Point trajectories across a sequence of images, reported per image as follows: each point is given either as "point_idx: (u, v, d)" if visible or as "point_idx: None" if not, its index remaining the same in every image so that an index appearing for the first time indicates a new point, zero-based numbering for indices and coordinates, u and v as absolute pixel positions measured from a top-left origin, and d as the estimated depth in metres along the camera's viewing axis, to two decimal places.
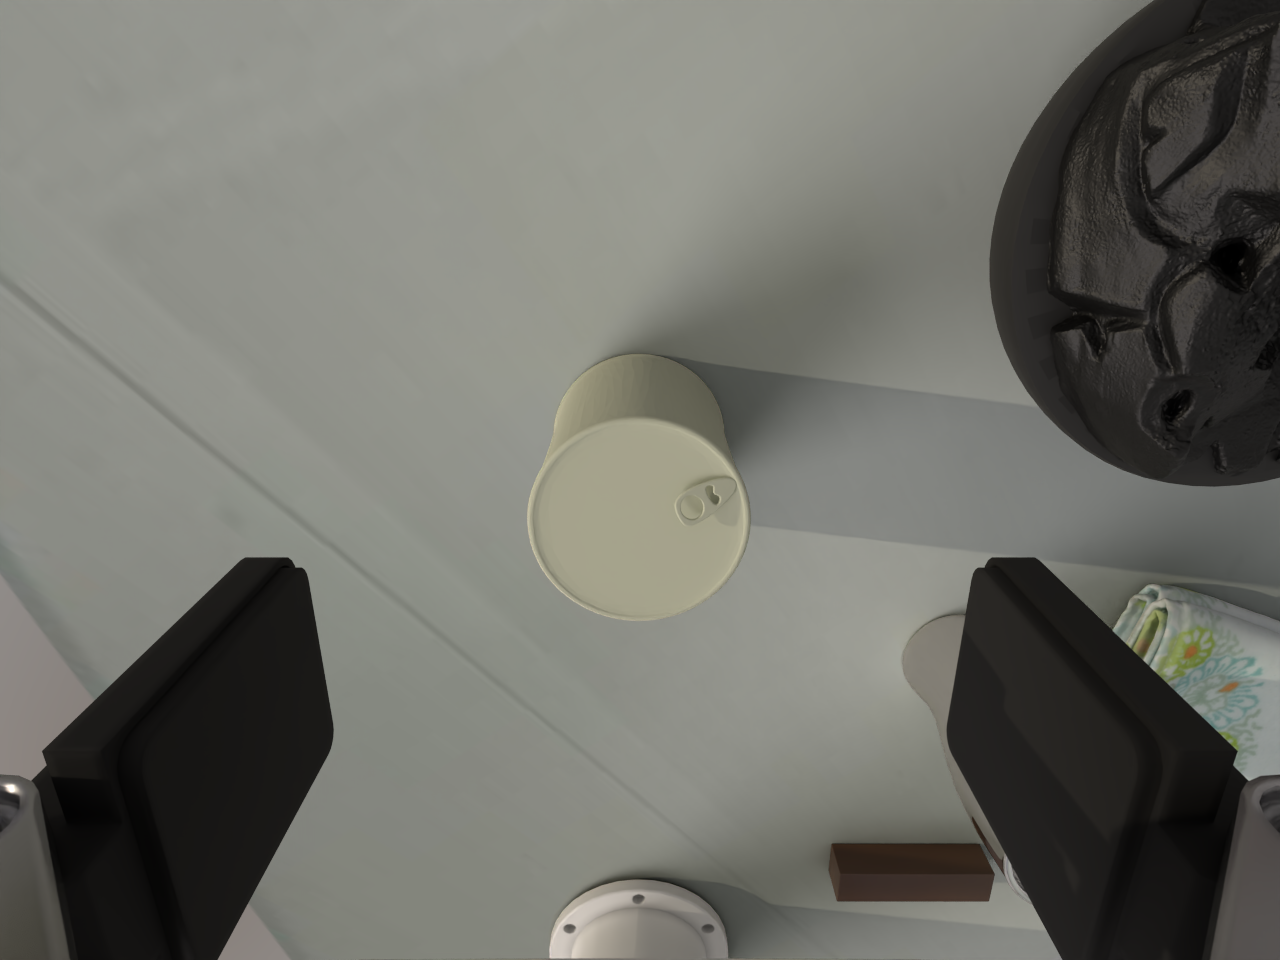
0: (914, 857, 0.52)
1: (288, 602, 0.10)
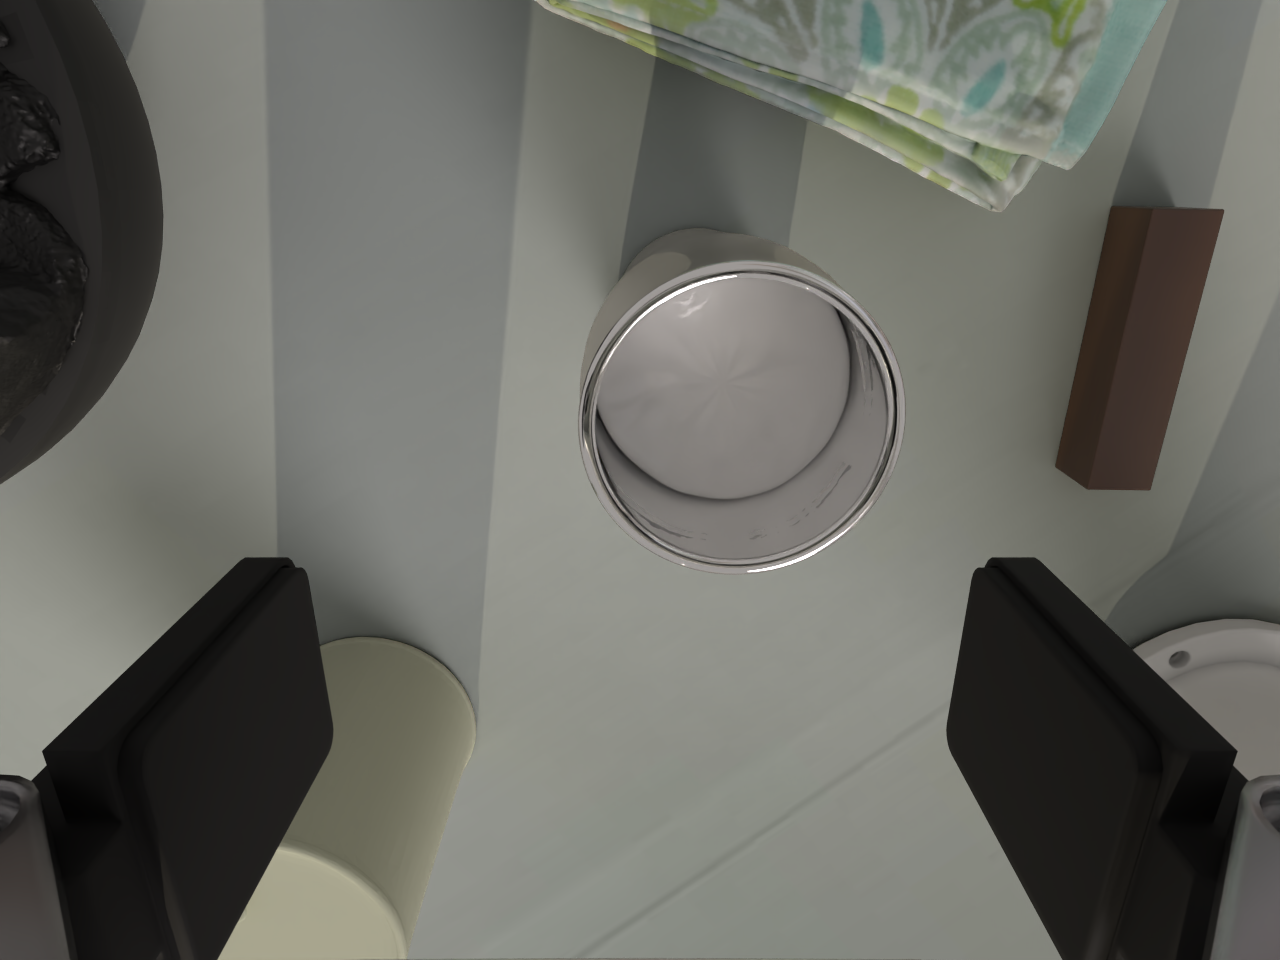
0: (1098, 344, 0.29)
1: (288, 602, 0.10)
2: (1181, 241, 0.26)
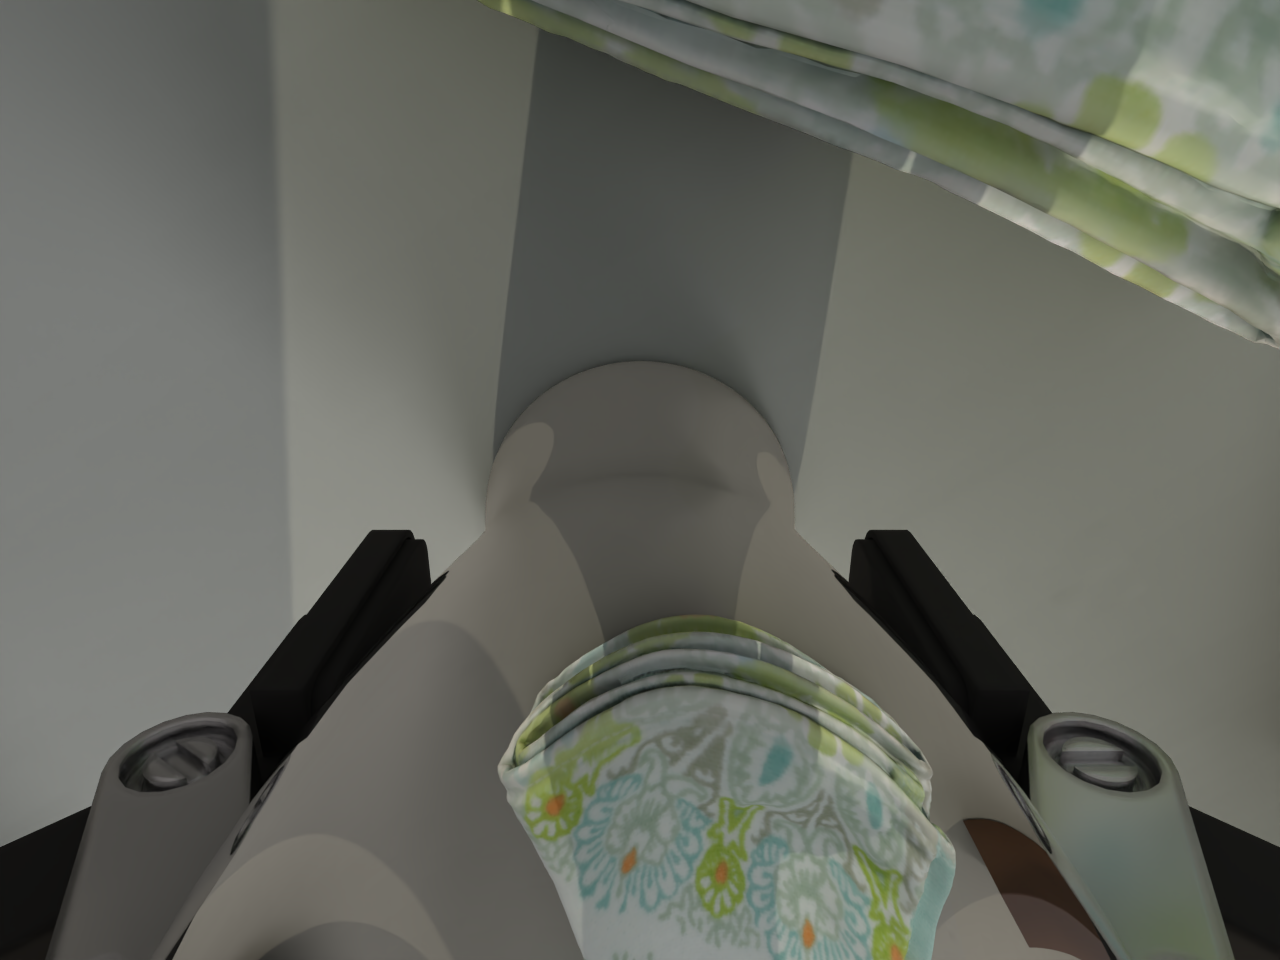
0: None
1: (416, 571, 0.11)
2: None
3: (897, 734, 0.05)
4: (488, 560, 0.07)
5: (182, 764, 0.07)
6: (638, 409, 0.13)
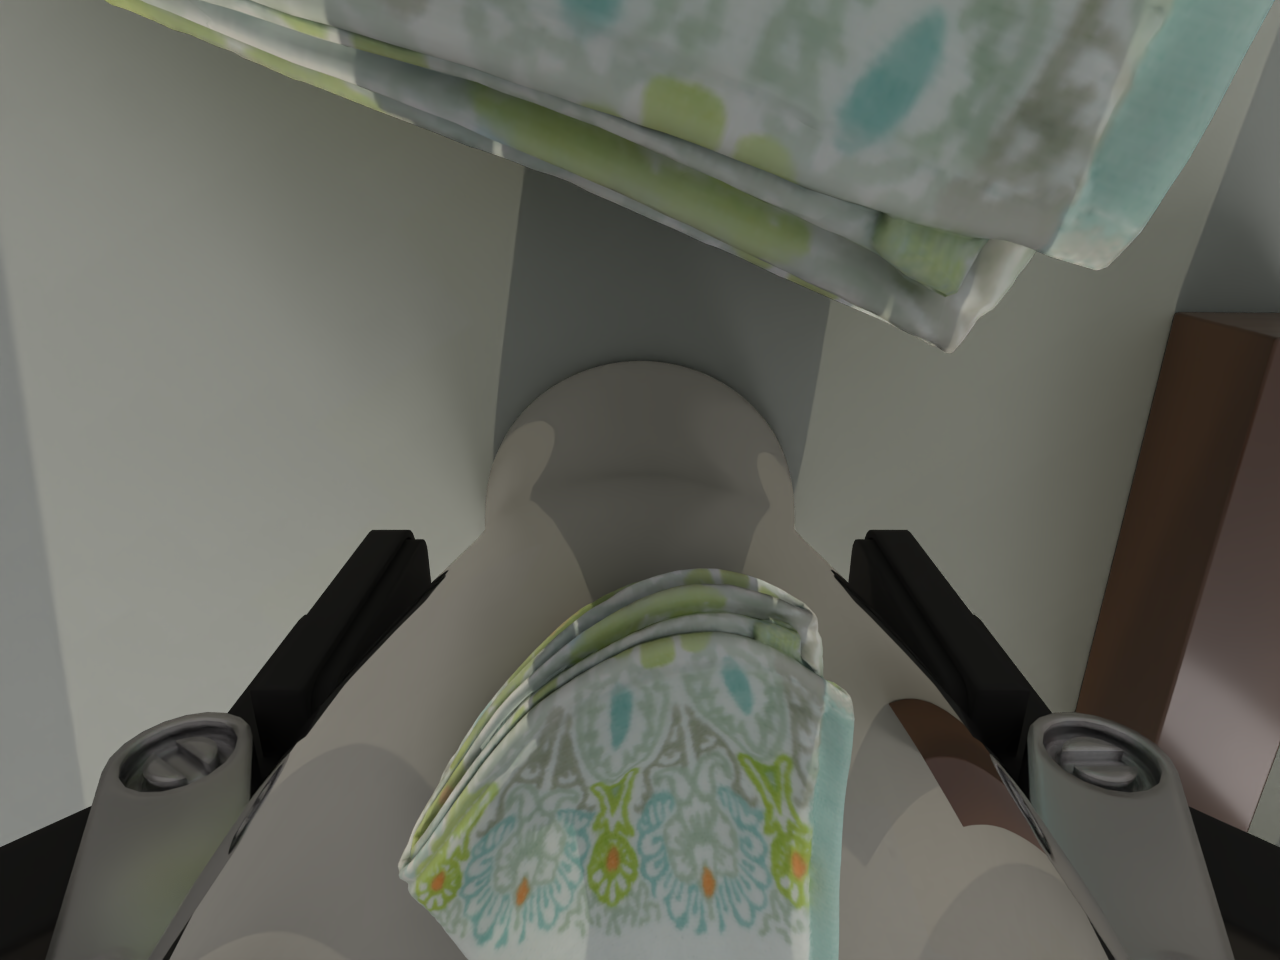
0: (1149, 572, 0.15)
1: (415, 570, 0.11)
2: None
3: (896, 734, 0.05)
4: (487, 560, 0.07)
5: (183, 764, 0.07)
6: (638, 409, 0.13)
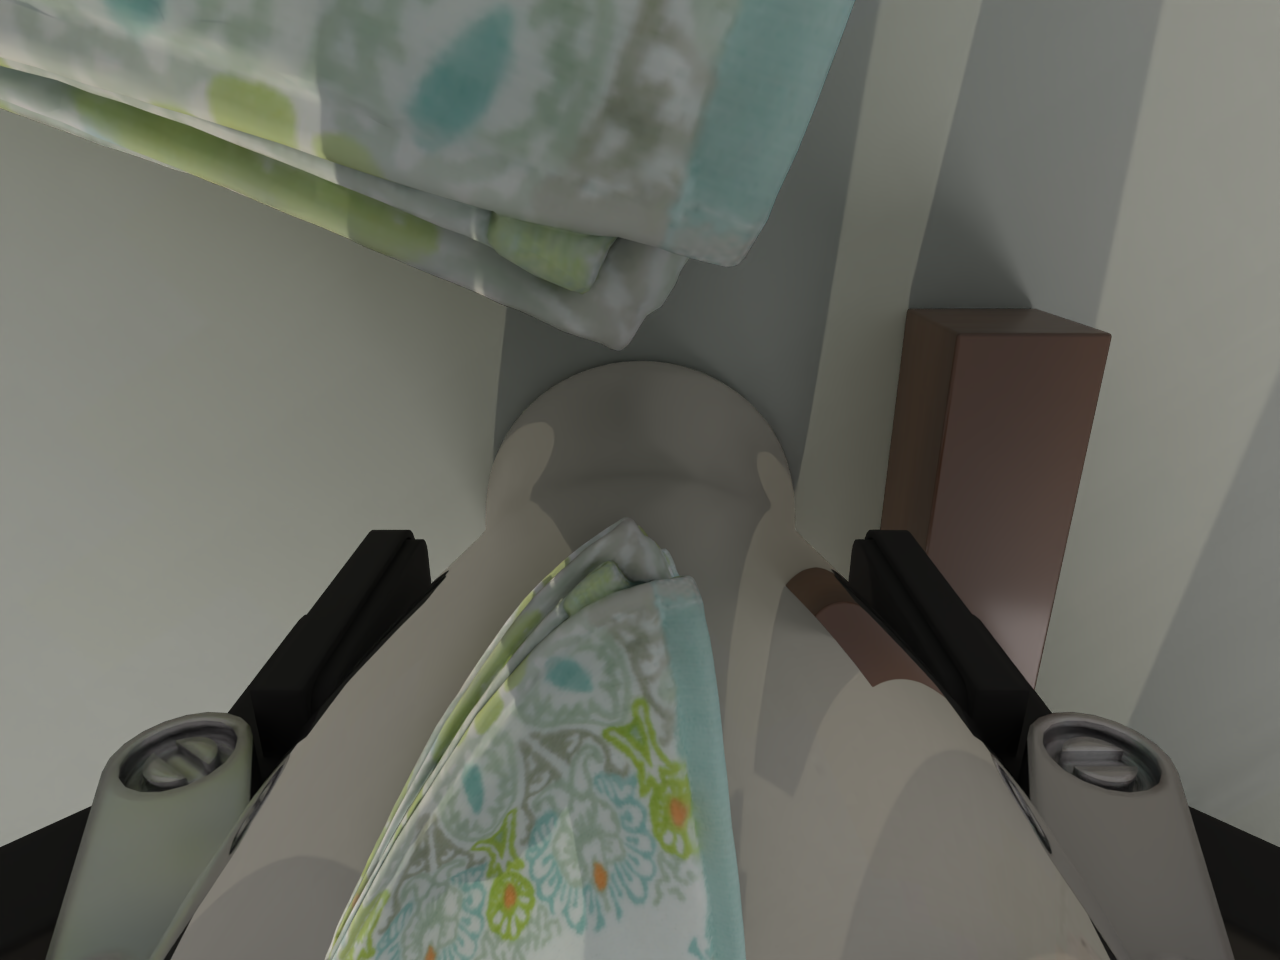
0: None
1: (416, 570, 0.11)
2: (1024, 398, 0.12)
3: (897, 735, 0.05)
4: (488, 560, 0.07)
5: (183, 764, 0.07)
6: (638, 409, 0.13)
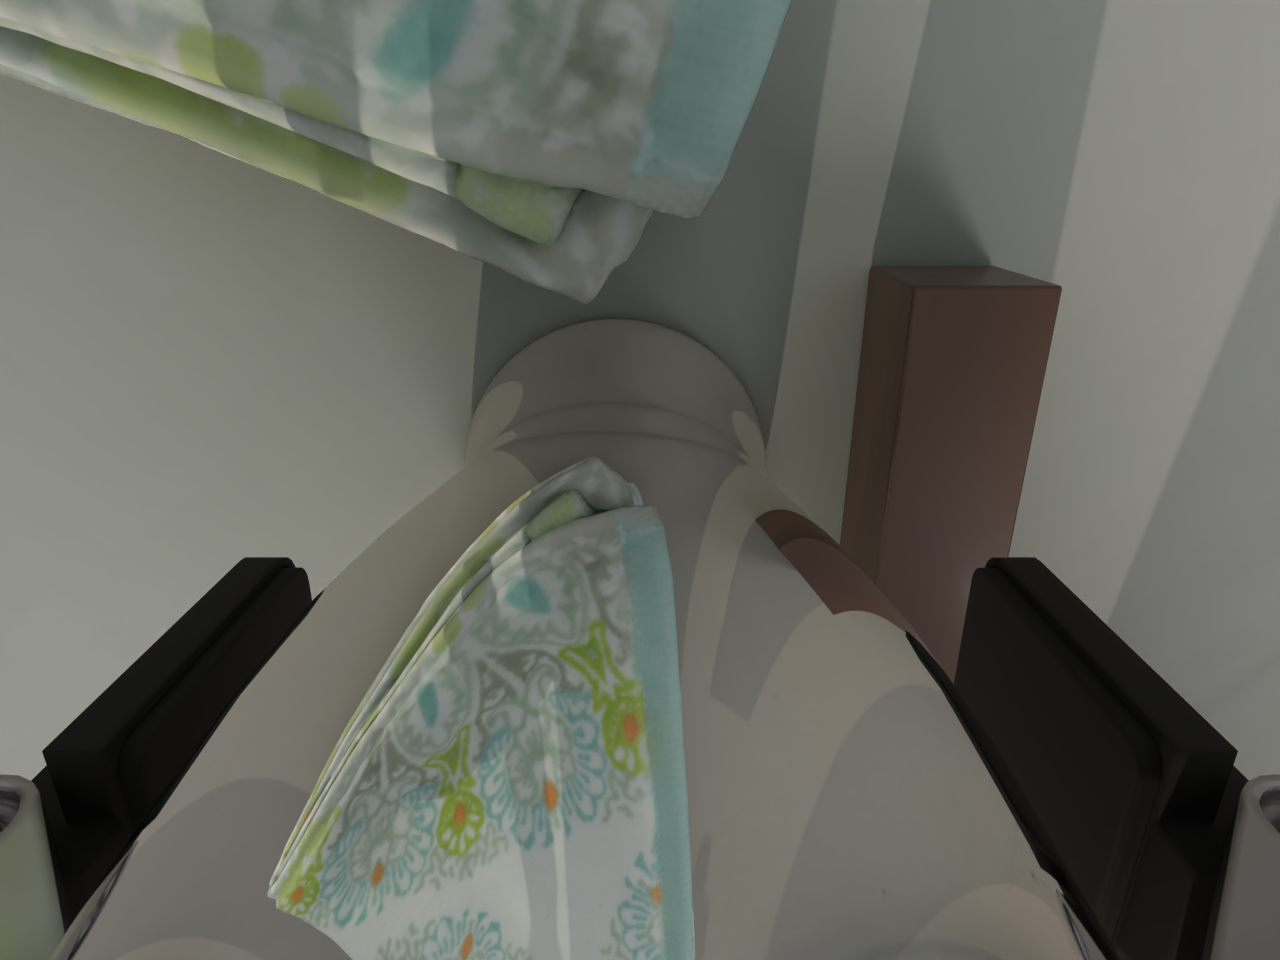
0: (859, 521, 0.16)
1: (288, 602, 0.10)
2: (979, 350, 0.13)
3: (825, 613, 0.05)
4: (458, 484, 0.08)
5: None
6: (611, 362, 0.13)
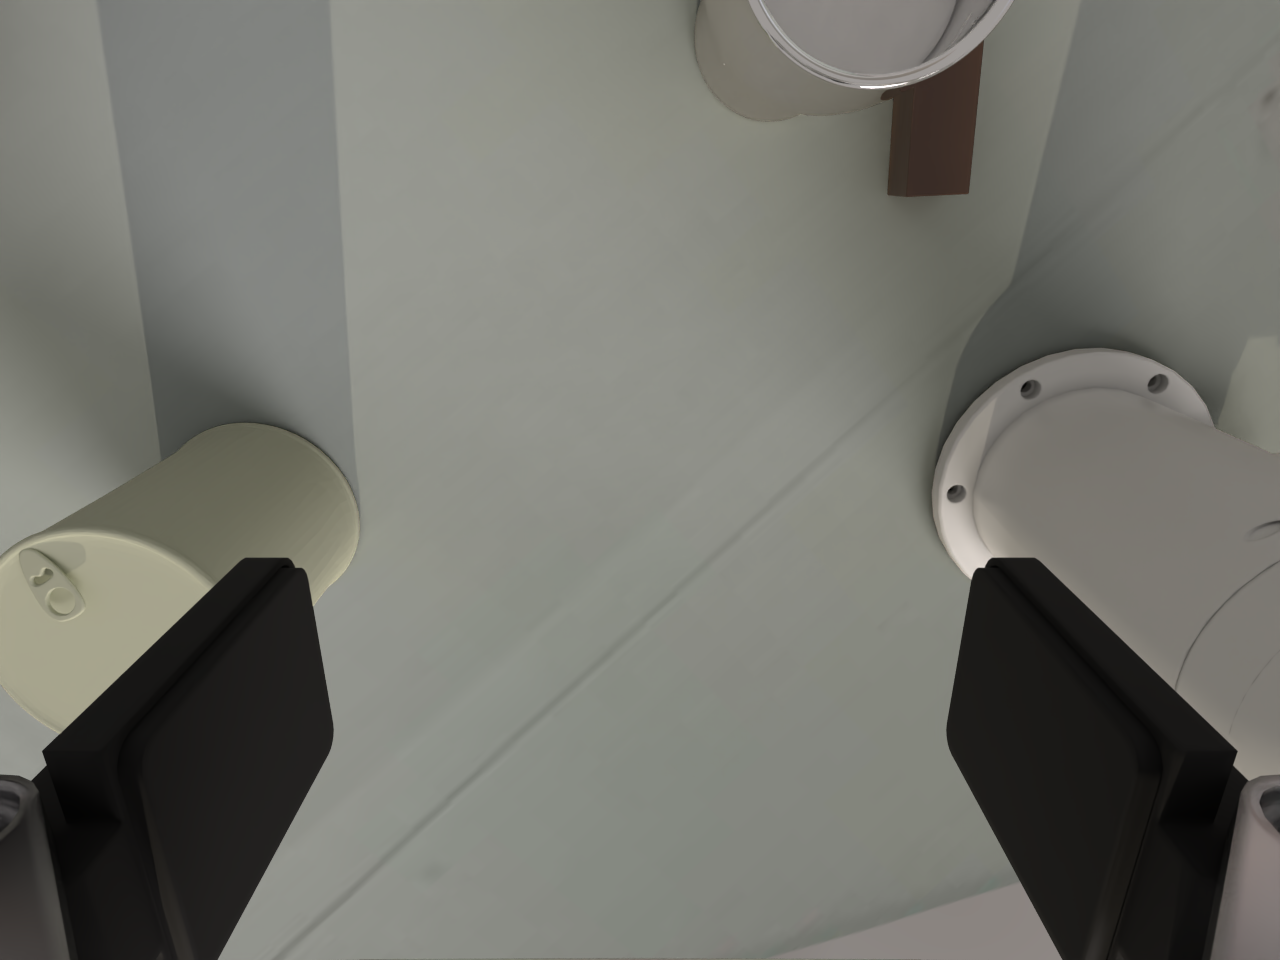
0: None
1: (288, 602, 0.10)
2: None
3: None
4: None
5: None
6: None
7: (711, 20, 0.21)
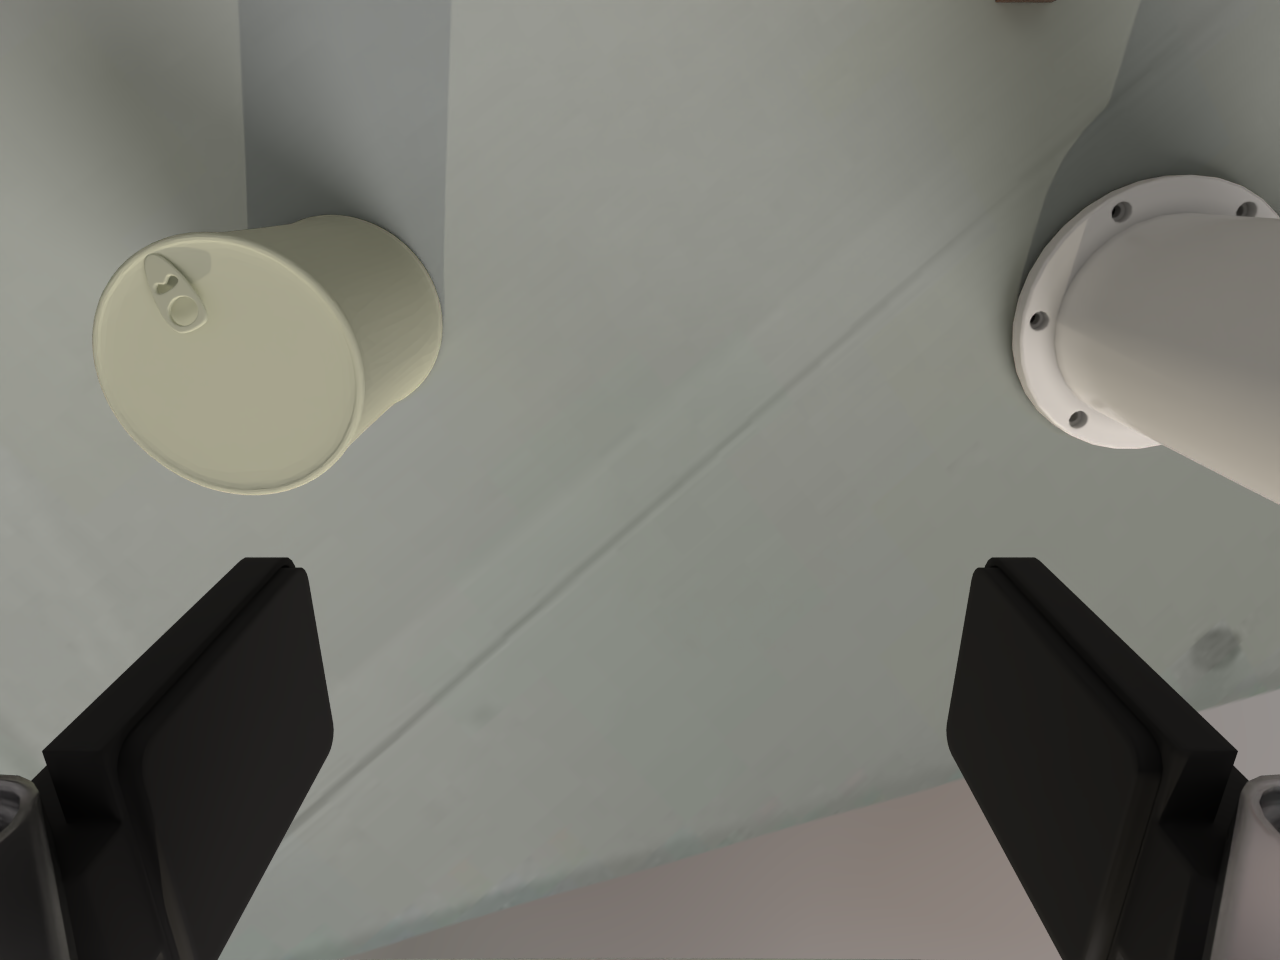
0: None
1: (288, 602, 0.10)
2: None
3: None
4: None
5: None
6: None
7: None
